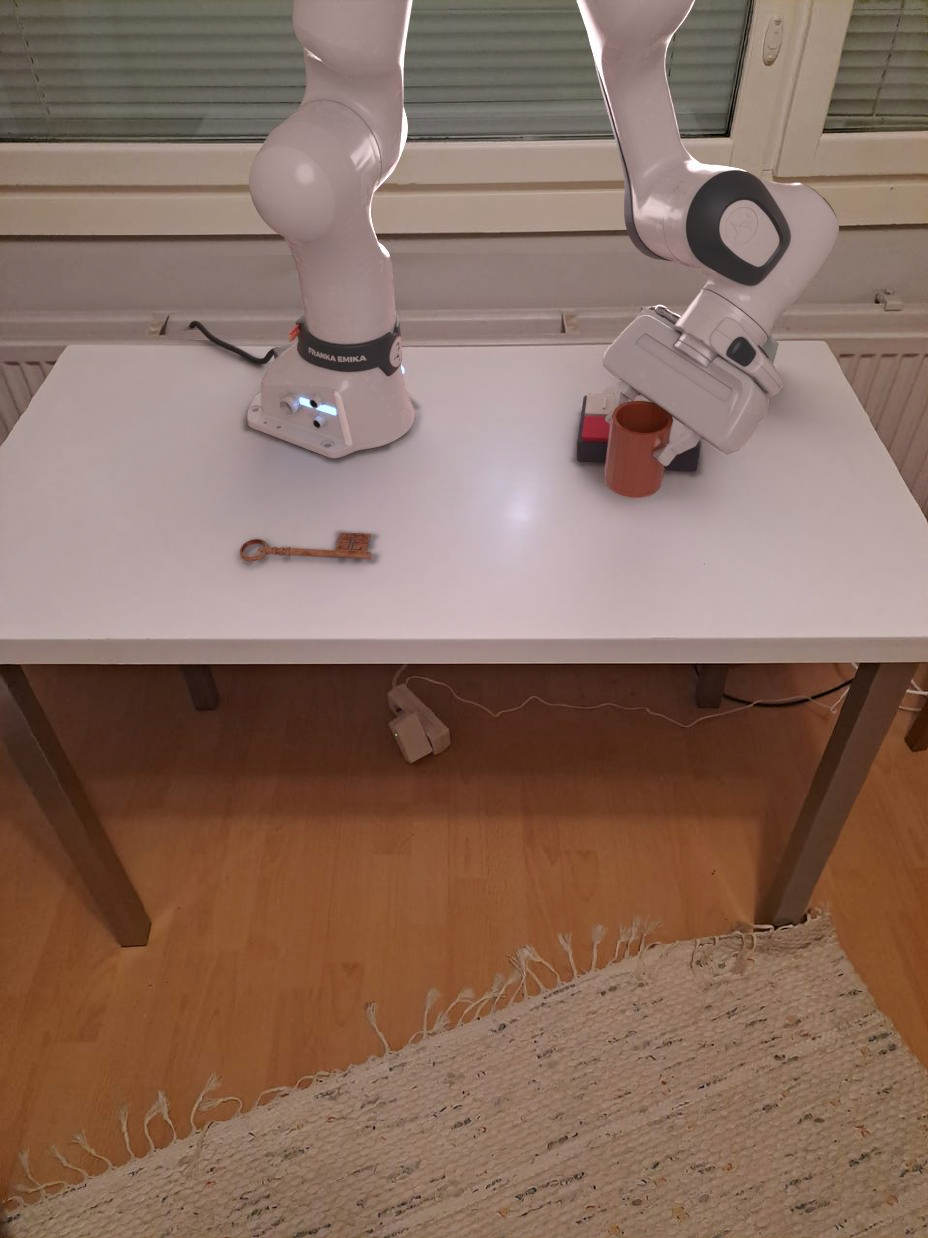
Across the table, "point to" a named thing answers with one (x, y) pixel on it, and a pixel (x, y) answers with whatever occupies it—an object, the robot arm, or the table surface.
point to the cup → (636, 448)
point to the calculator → (597, 434)
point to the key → (341, 552)
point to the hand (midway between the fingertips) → (634, 443)
